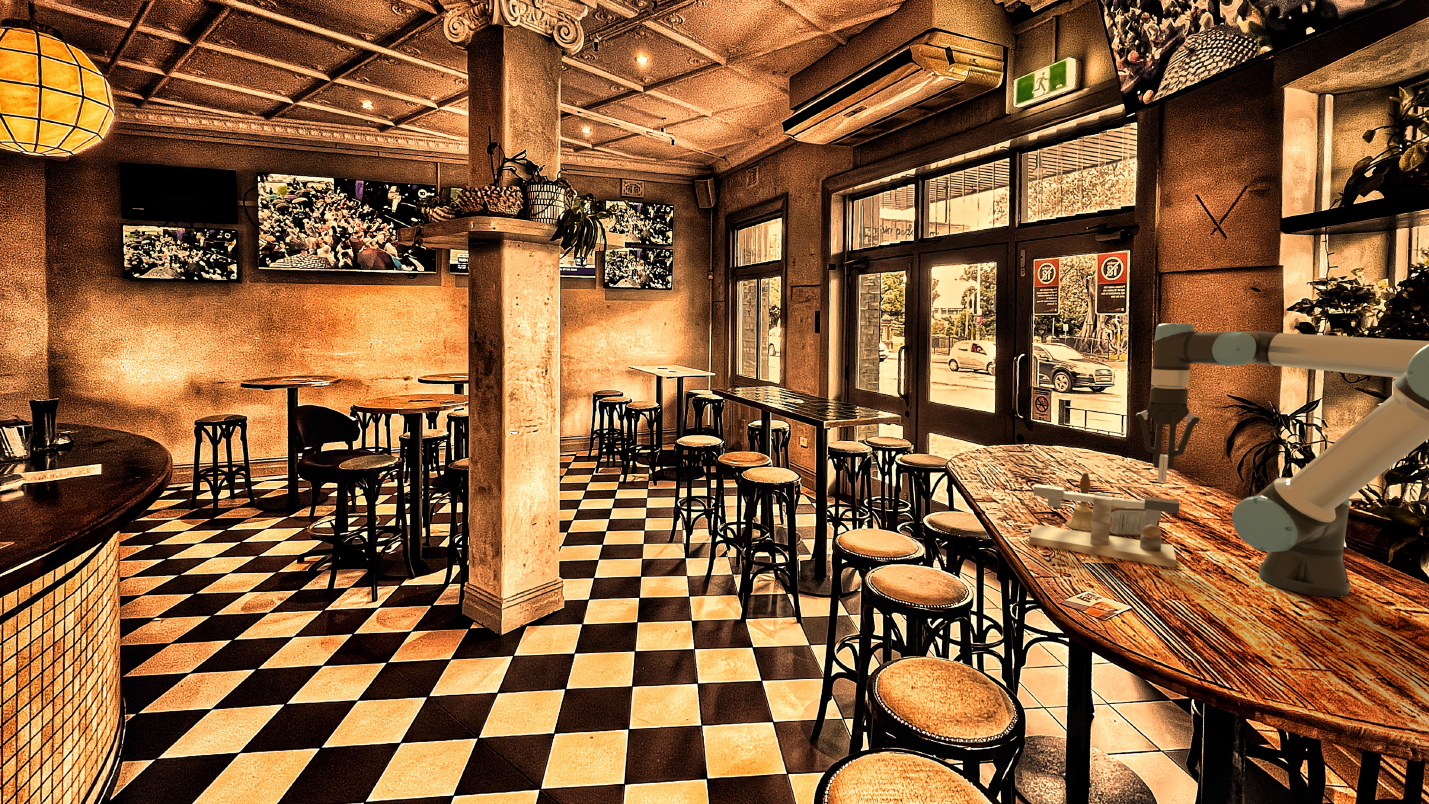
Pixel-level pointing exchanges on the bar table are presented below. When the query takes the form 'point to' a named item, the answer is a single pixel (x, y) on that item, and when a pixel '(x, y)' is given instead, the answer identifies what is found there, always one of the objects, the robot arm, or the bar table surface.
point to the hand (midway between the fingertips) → (1161, 481)
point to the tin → (1129, 521)
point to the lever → (1149, 503)
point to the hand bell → (1082, 509)
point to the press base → (1102, 550)
